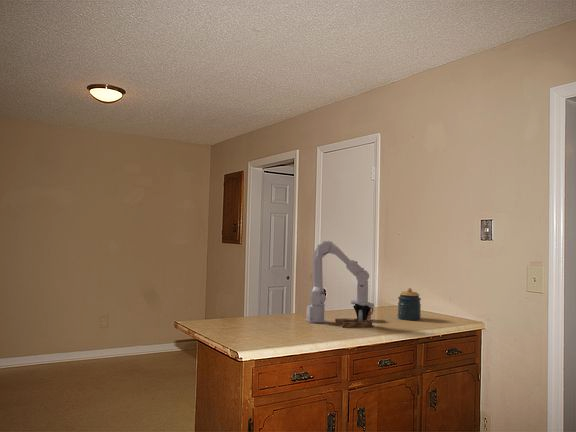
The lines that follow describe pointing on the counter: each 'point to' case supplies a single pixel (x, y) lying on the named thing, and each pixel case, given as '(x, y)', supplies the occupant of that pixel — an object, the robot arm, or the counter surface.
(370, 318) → the teacup with lid
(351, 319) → the groove board
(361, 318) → the peg
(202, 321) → the counter surface
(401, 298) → the canister
